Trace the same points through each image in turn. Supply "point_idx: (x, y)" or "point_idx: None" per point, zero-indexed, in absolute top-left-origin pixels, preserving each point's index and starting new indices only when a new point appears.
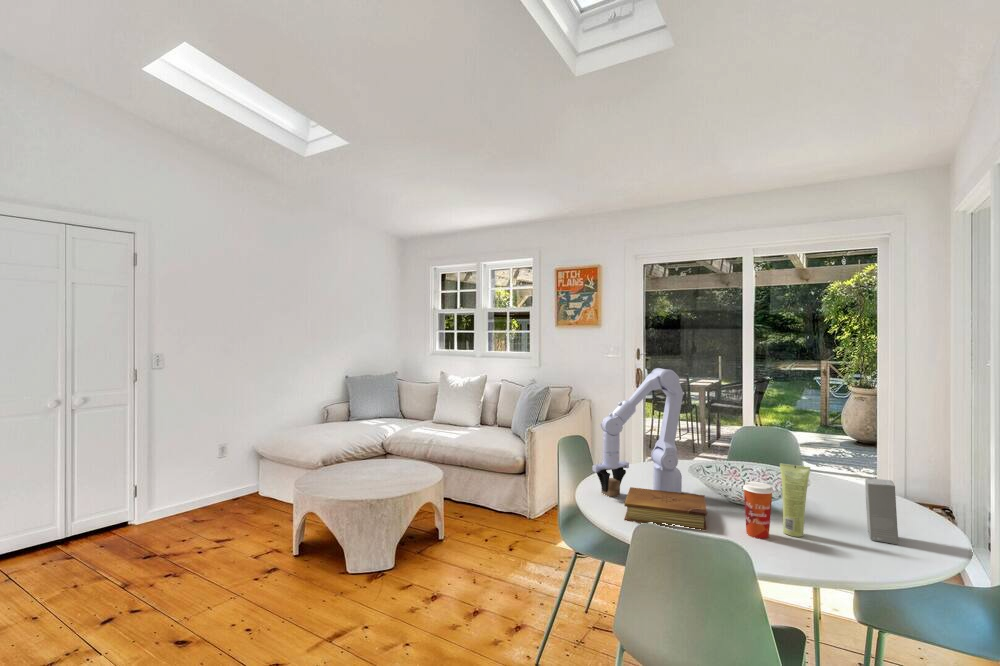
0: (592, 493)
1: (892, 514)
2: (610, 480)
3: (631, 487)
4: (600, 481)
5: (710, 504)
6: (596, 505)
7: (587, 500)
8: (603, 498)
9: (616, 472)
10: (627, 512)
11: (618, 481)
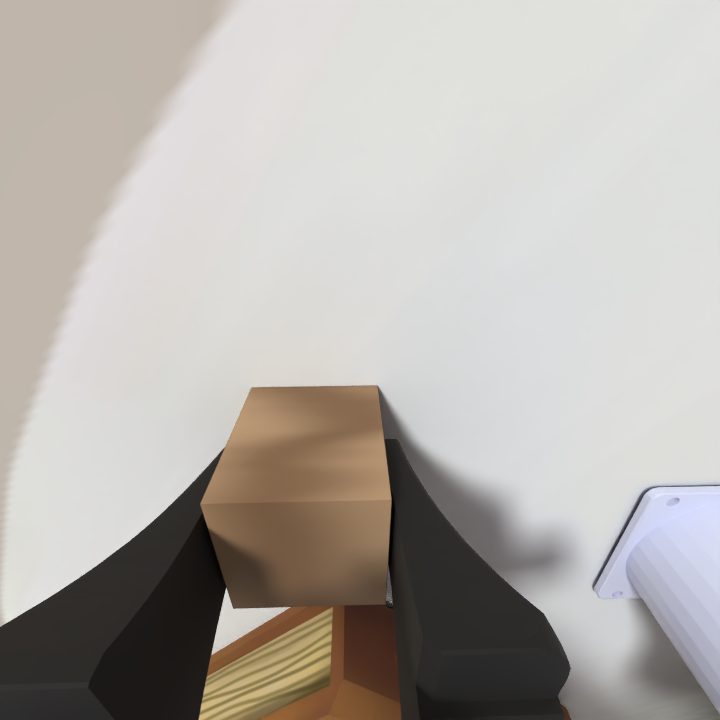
0: (161, 354)
1: None
2: (290, 567)
3: (333, 718)
4: (165, 518)
5: (675, 676)
6: (82, 560)
7: (42, 479)
8: None
9: (407, 672)
10: None
11: (361, 603)
